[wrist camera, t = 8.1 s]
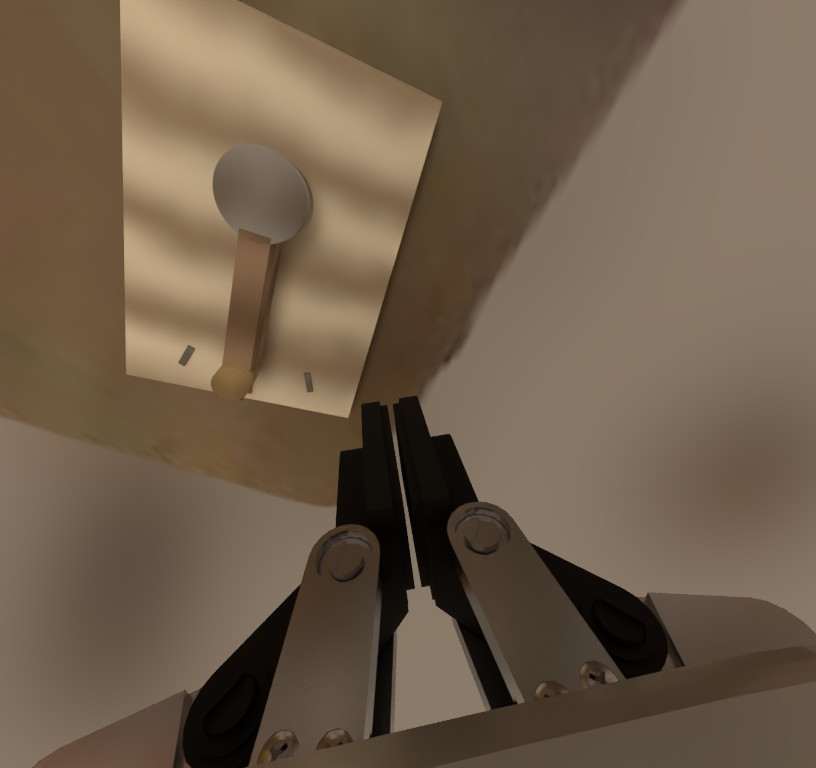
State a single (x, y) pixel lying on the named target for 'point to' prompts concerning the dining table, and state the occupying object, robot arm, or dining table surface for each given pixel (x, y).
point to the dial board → (212, 236)
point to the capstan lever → (255, 251)
